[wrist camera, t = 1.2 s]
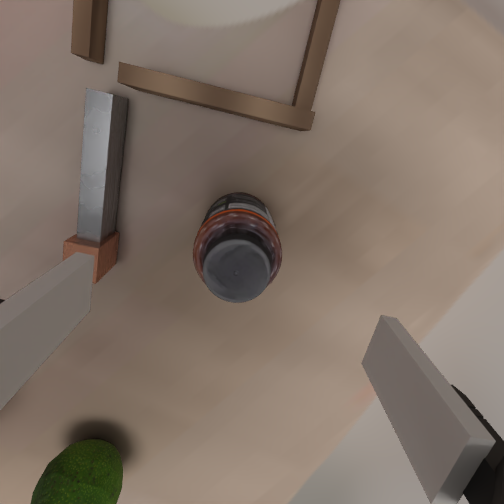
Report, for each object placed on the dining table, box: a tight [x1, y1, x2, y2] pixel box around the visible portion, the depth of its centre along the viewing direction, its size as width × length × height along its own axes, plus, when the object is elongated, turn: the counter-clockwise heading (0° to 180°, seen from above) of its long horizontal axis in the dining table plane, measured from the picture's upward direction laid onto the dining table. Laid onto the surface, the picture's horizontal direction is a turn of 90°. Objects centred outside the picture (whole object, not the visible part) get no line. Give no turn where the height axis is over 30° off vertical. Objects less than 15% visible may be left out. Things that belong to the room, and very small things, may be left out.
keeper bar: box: [63, 88, 128, 284], centre depth 26 cm, size 3×14×4 cm, turn 167°
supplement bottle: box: [193, 193, 282, 303], centre depth 25 cm, size 6×6×11 cm
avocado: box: [31, 439, 123, 504], centre depth 33 cm, size 8×8×12 cm
